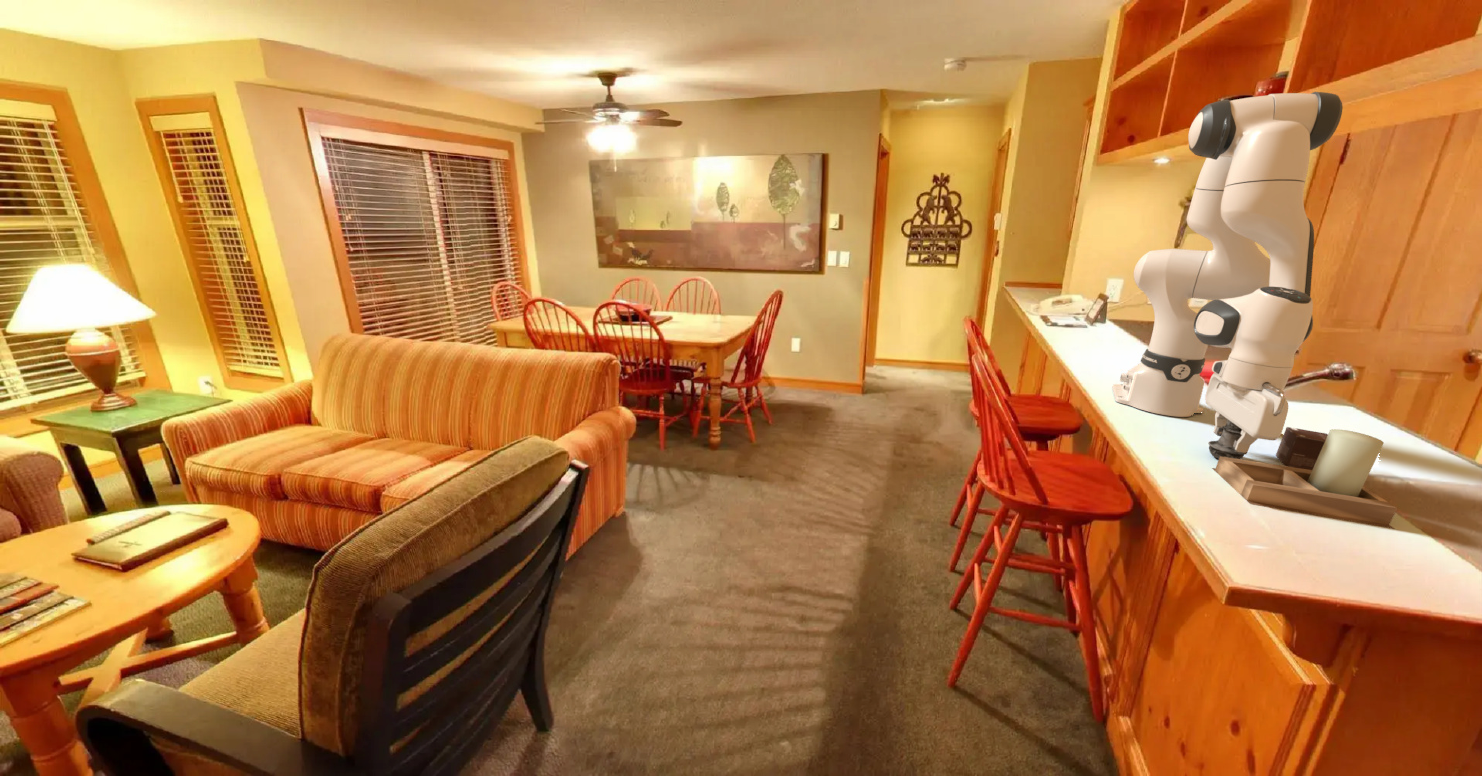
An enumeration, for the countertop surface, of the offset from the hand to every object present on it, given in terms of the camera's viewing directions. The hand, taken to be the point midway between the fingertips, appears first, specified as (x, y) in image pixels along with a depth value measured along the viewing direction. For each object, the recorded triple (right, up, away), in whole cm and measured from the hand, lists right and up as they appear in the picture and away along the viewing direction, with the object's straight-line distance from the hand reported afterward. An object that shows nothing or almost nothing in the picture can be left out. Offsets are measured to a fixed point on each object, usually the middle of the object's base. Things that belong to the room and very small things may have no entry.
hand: (1229, 442), depth 104 cm
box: (+14, -5, +1) cm, 15 cm away
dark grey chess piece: (0, -4, +2) cm, 5 cm away
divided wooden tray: (0, -9, -12) cm, 15 cm away
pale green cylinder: (+4, -9, -13) cm, 16 cm away
